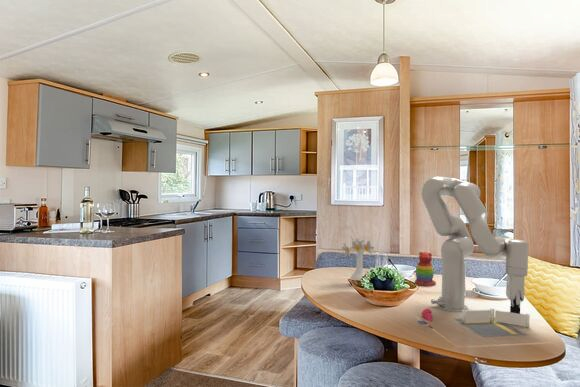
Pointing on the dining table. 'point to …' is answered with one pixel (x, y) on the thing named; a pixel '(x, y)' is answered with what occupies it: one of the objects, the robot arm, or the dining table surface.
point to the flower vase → (358, 256)
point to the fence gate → (512, 318)
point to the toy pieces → (426, 316)
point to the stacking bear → (425, 270)
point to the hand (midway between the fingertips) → (514, 316)
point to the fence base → (486, 324)
